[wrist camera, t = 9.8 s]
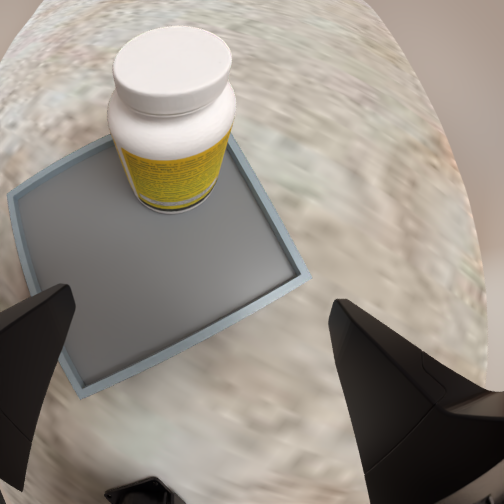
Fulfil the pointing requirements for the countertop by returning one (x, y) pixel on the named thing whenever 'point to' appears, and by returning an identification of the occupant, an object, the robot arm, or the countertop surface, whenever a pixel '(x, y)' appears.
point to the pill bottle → (172, 115)
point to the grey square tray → (147, 260)
